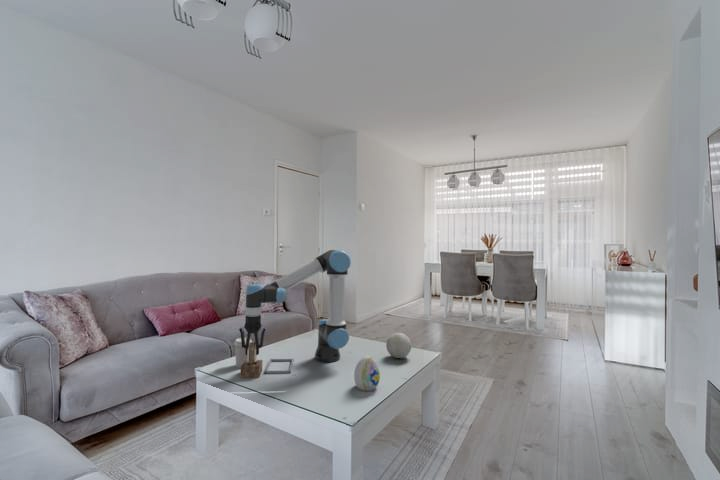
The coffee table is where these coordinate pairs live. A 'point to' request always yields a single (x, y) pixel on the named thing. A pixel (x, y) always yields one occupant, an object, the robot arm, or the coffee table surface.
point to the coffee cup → (240, 352)
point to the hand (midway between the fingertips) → (252, 361)
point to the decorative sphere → (398, 345)
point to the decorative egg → (367, 374)
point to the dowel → (251, 353)
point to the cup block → (251, 369)
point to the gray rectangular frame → (279, 371)
